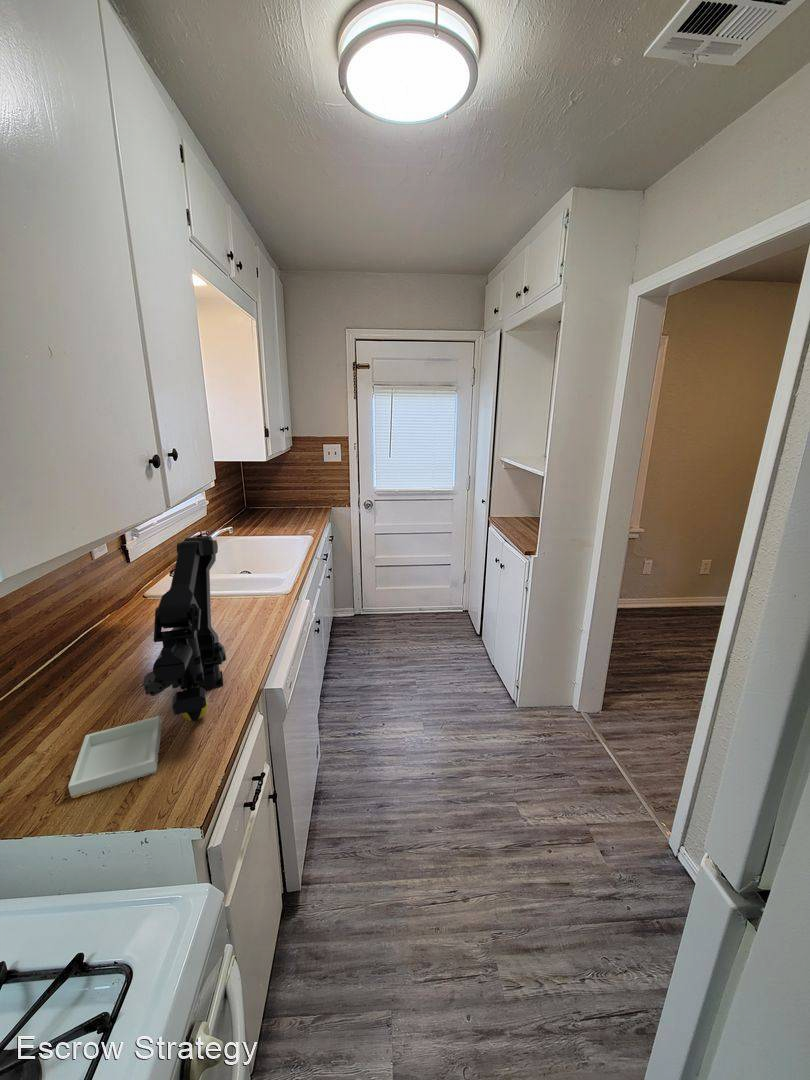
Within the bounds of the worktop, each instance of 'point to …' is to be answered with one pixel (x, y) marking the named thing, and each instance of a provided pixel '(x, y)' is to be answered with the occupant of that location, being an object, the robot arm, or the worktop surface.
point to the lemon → (200, 714)
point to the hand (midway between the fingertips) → (195, 712)
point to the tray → (117, 756)
